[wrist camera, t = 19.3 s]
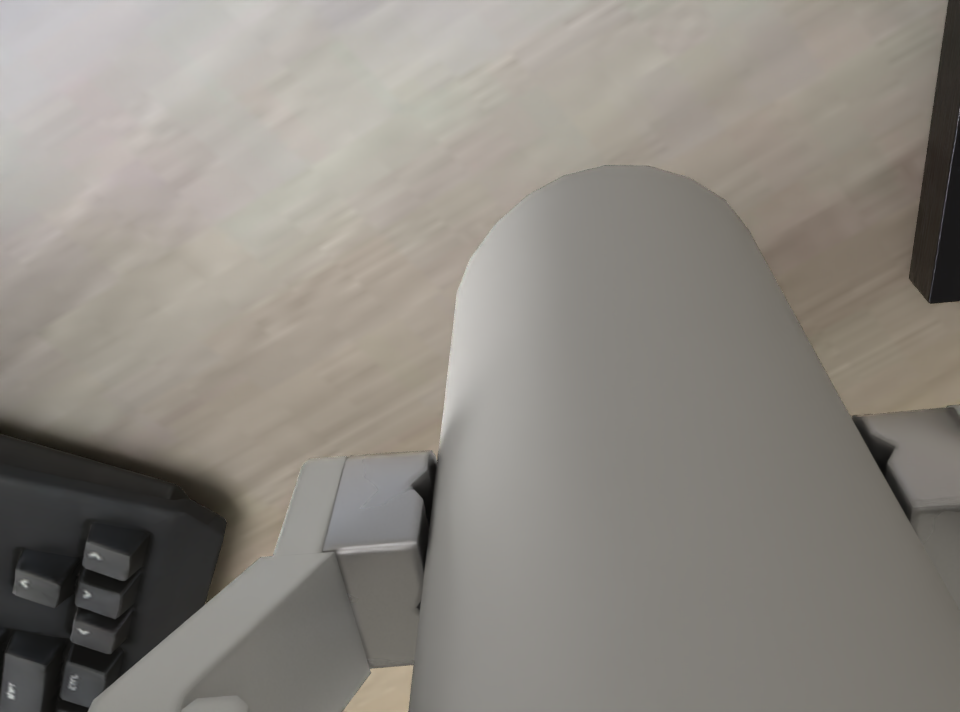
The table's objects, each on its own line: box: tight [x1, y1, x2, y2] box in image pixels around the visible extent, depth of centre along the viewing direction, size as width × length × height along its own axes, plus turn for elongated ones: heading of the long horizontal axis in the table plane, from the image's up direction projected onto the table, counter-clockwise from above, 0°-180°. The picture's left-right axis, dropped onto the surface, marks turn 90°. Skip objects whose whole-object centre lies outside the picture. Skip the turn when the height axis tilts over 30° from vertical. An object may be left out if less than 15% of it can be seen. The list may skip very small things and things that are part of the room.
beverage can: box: [408, 165, 960, 712], centre depth 9 cm, size 5×5×12 cm
